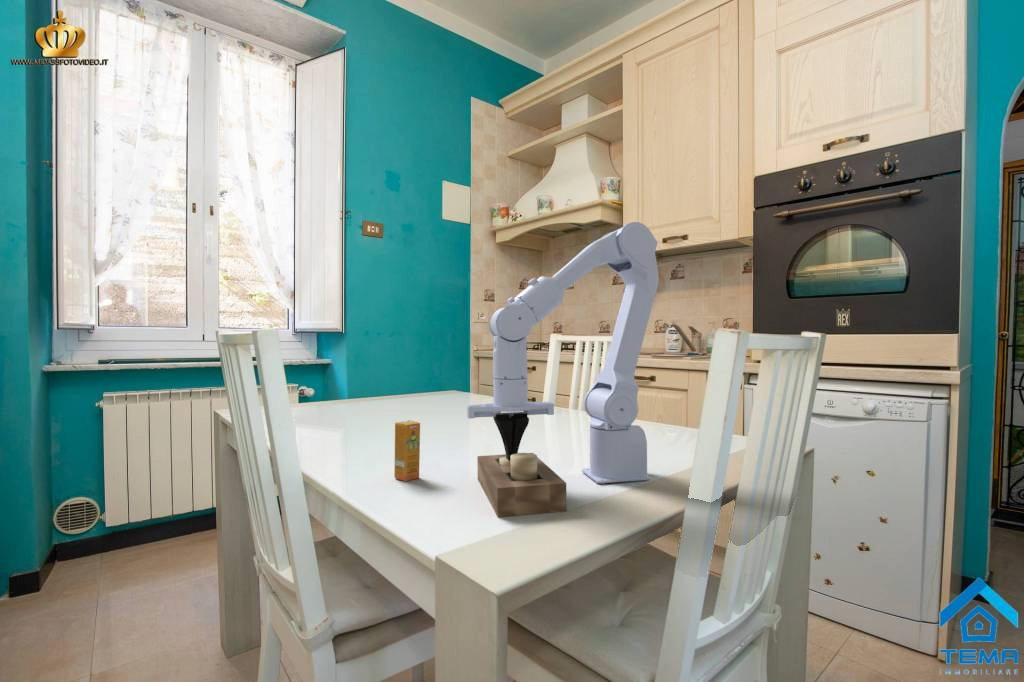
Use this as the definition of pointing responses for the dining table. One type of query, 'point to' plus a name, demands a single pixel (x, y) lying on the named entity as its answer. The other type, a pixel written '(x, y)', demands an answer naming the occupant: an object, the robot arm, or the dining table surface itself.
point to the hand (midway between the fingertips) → (511, 459)
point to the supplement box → (407, 450)
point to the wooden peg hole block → (520, 489)
